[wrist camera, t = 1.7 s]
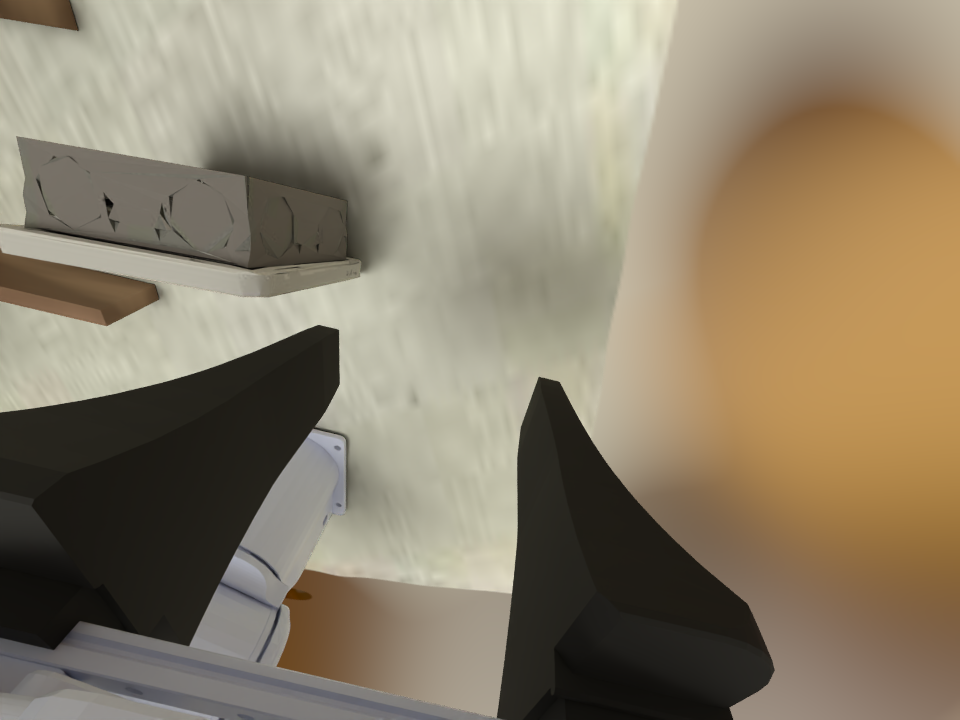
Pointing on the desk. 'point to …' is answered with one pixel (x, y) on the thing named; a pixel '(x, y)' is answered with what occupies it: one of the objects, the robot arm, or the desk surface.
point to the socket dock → (56, 282)
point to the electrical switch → (176, 223)
